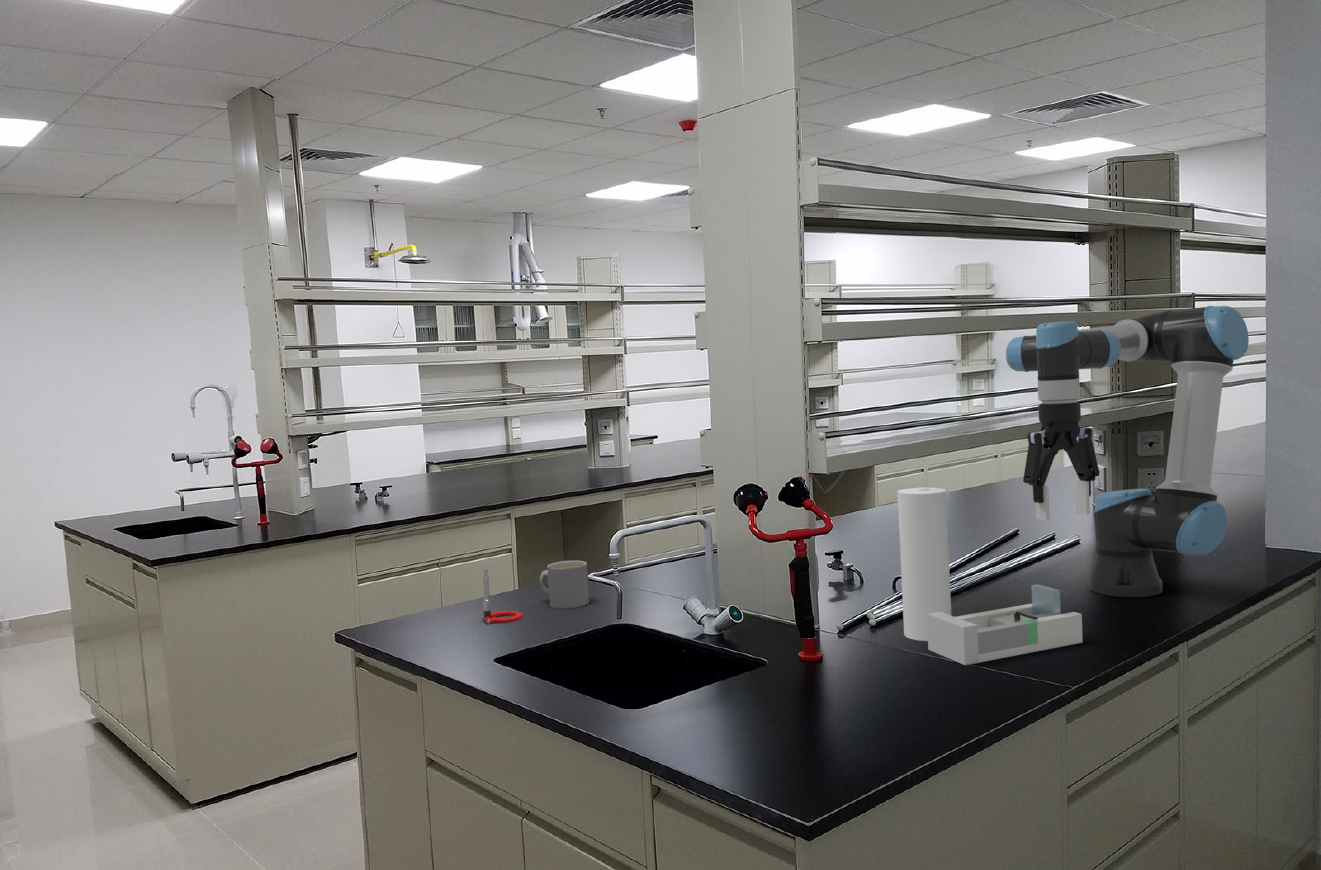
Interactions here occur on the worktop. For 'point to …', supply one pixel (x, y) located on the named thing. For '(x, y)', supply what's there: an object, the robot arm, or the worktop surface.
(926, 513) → the cylinder container
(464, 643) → the worktop surface
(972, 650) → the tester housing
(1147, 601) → the worktop surface
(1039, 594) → the plunger
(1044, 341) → the robot arm
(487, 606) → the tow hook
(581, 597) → the coffee mug
